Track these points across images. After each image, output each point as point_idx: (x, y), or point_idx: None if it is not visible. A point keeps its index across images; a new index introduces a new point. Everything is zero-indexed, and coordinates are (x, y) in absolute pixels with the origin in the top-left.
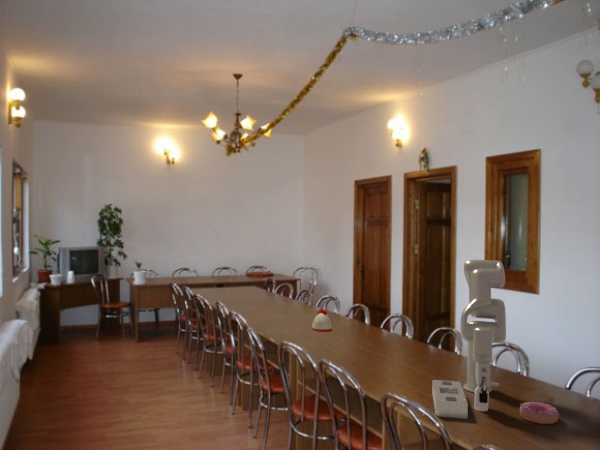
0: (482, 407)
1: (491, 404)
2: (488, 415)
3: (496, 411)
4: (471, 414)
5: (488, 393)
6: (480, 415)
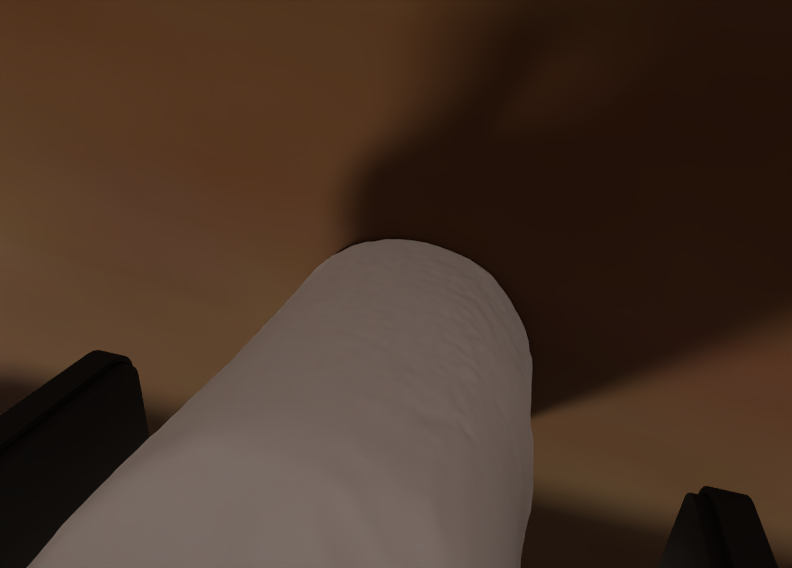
0: (530, 407)
1: (113, 90)
2: (769, 330)
3: (507, 95)
4: None
5: (379, 496)
6: (757, 461)
